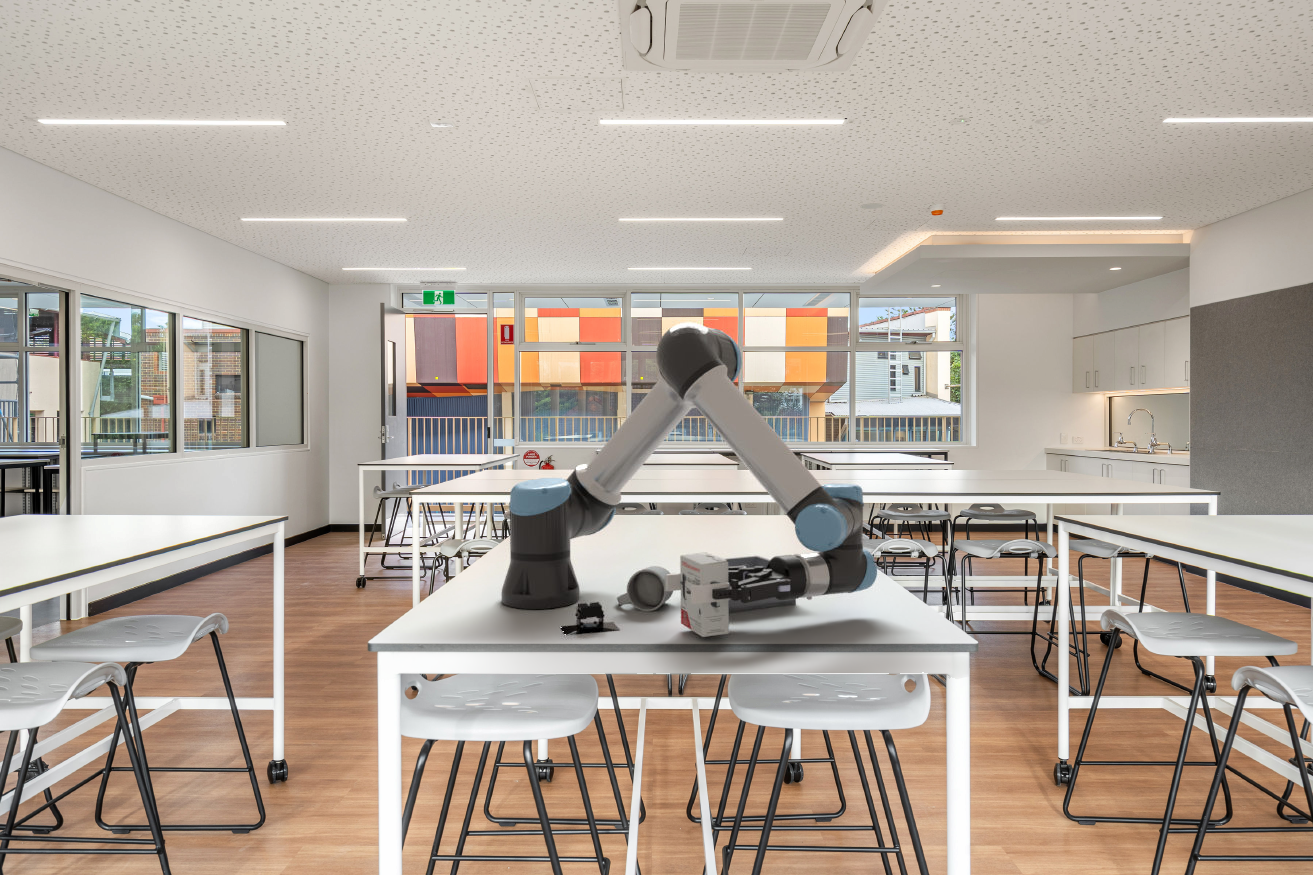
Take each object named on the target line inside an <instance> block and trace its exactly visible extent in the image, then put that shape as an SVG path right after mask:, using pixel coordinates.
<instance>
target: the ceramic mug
mask: <svg viewBox="0 0 1313 875" xmlns="http://www.w3.org/2000/svg"><path fill="white" fill-rule="evenodd" d="M666 574H672V573H671V572H670V571H669V570H668V569H666V568H665V567H662V566H660V565H658V566H657V565H652V566H648V567H646V568H642V569H640V570H638V571H636V572H635V573H634V574H632V575H631V577H630V578H629V580H628V582H627V584H626V592H625V593H623V594H621V595H619V596H617V597H616V601H617V603H618V605H619V606H621V605H625V604H627V603H629V602H630V604H632V606H633V607H634V608H636V609H637V610H639V611H642V612H652V611H653V612H654V611H656V610H657V609H659V608H661V606H662V605H664V604H665V603H666V602H667V601H669V599H670V598H671V597H672V595H673V593H674V591H666Z"/></svg>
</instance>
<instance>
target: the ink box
mask: <svg viewBox="0 0 1313 875" xmlns="http://www.w3.org/2000/svg"><path fill="white" fill-rule="evenodd" d="M679 558H680V559H679V560H680V562H679V564H680V566H679V567H680V569H679V570H680V572H679V573H680V574H681V590H680V624H681V625H683V626H684V627H686V628H688V629H689V630H690V631H692V632H693V633H696V634H697V635H699V636H700V637H701V638H705V637H711V636H712V637H714V636H718V635H719V636H720V635H727V634H729V633H730V632H729V631H730V629H729V628H730V626H729V625H730V623H729V622H730V620H729V619H730V618H729V615H730V614H729V604H728V600H727V601H718V602H710V603H701V604H691V586H696V585H706V584H715V583H725V582H728V562H727V560H726V558H723V557H720V556H718V555H717V556H716V555H715V554H712V553H708V552H704V551H703V552H697V553H696V552H695V553H690V554H689V553H688V554H683V555H680V557H679Z"/></svg>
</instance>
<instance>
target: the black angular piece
mask: <svg viewBox="0 0 1313 875" xmlns="http://www.w3.org/2000/svg"><path fill="white" fill-rule="evenodd" d="M574 616H575V620H576V621H575V622H576V623H575V624H573V625H571V624H570V625H561V627H562V628H560V627H559V628H560V630H561V632H562V631H564V632H562V634H563V635H564V634H566V636H575V635H585V634H586V635H587V634H598V633H608V632H619V631H621V629H620V628H619V626H617V625H616V623H615V622H614V621H610V622H609V621H607V622H604V621H605V620H604V619H605V613H604V610H603V607H602V604H601V603H600V602H599V601H597V602H589V604H588V603H587V602H585V603H577V608H576V610H575V613H574ZM593 618H595V619H598V620H594V621H590V622H589V621H588V622H587V621H586V622H584V621H582V620H587V619H593Z"/></svg>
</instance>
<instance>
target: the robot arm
mask: <svg viewBox="0 0 1313 875" xmlns="http://www.w3.org/2000/svg"><path fill="white" fill-rule="evenodd" d="M656 362H657V367H658V370H657V373H658V374H657V375H658V381H657V382H656V383H655V384H654V385H653V387H652V388H651V389H650V390H649V391H648V393H647V394H646V395H645V397H644V398H643V399H642V400H641V401H640V402H639V403H638V404H637V406H636V407H635V408H634V409H633V411H632V412H630V414H629V415H628V417H627V418H626V419H625V420H624V421H623V423H622V424H621V425H620V426H619V427H618V429H617V430H616V431H615V432H614V434H613V435H612V436H611V437H609V440H607V442H606V443H605V444H604V446H603V447H602V448H601V449H600V450H599V452H597V453H596V455H594V458H593V459H592V460H591V461H590V462H589V463H583V464H579V465H578V466H576V467H575V469H574V470H573V471H572V472H571V474H570V475H569V476H568V477H567V478H566V479H565V478H561V477H560V478H559V477H542V478H537V479H529V480H524V481H521V482H519V483H517V484H515V485H514V486H513V487H512V488H511V490H510V494H509V495H510V496H509V497H510V498H509V504H508V509H509V532H510V533H509V537H510V538H509V540H510V541H509V544H510V546H509V547H510V548H509V549H510V552H509V553H510V560H509V561H510V562H509V565H508V569H507V572H506V575H505V579H504V581H503V585H502V588H501V603H502V605H505V606H506V607H507V606H508V607H509V608H510V607H511V608H514V609H515V608H516V609H524V610H544V609H545V610H546V609H554V608H559V607H561V608H562V607H565V606H569V605H572V604H575V603H576V602H578V601H579V600H580V598H581V596H580V594H581V593H580V584H579V581H578V579H577V576H576V575H577V574H576V573H575V569H574V566H573V563H572V559H571V540H572V539H573V540H574V539H576V538H580V537H583V536H591V535H594V534H596V533H597V532H600V531H601V530H603V529H604V528H606V527H607V526H608V525H610V523H611V522H612V520H613V518H614V517H615V514H616V511H617V510H616V507H617V506H618V505H619V504H620V502H621V501H622V493H621V490H622V489H623V488H624V487H625V486H626V484H627V483H628V482H629V481H630V480H631V479H632V477H633V476H635V474H636V473H637V472H638V471H639V470H640V469H641V467H642V466H643V465H644V464H645V462H646V461H647V460H648V459H649V458H650V457H651V456H652V455H653V453H654V452H655V451H656V450H657V449H658V448H659V447H660V446H661V445H662V443H663V442H664V441H665V440H666V438H668V436H669V435H670V434H671V433H672V432H673V430H675V429H676V427H677V426H678V425H679V423H680V422H681V421H682V420H683V419H684V418H685V417H686V415H687V414H688V413H689V412H690V411H691V410H692V409H697V410H698V411H699V412H700V414H701V415H702V416H703V418H705V420H707V422H708V424H710V426H711V427H712V428H713V429H714V430H715V431H716V432H717V433H718V435H719V436H720V437H721V439H723V441H724V442H725V443H726V444H727V445H728V447H729V448H730V449H731V450H732V451H733V453H734V454H735V455H736V457H737V458H738V459H739V460H740V461H741V463H742V464H744V466H745V467H746V468H747V469H748V470H749V472H750V473H751V474H752V476H753V477H754V478H755V479H756V480H757V482H758V483H759V484H760V485H761V486H762V488H764V490H765V491H766V492H767V493H768V495H769V496H770V497H771V498H772V499H773V501H775V503H776V504H777V505H778V506H779V508H780V509H781V510H782V511H783V513H784V514H786V516H787V517H788V518H789V520H790V521H791V523H793V525H794V531H795V535H796V538H797V539H798V542H800V544H801V545H802V546H803V547H804V548H806V549H808V550H811V551H813V552H804V553H794V554H786V555H785V554H784V555H776V556H773V557H772V558H771V559H770V561H769V563H768V565H767V567H766V568H765V569H764V567H763V566H754V567H753V568H750V566H749V565H742V566H731V567H728V582H725V583H715V584H706V585H696V586H691V604H701V603H710V602H718V601H727V600H730V598H731V600H734V601H738V600H741V602H742V603H748V602H753V601H758V600H763V599H768V598H773V597H775V598H776V599H778V600H790V599H796V600H797V599H800V598H805V599H807V600H808V601H809V600H810V601H811V600H812V599H813V597H820V596H825V595H827V596H828V595H837V594H851V593H855V592H860V591H861V592H862V591H864V590H868V589H869V588H870V587H872V586H873V585H874V584H875V582H876V579H877V575H878V566H877V565H876V562H875V561H876V560H875V557H874V556H873V554H872V553H871V552H870V551H868V550H867V549H865V548H864V546H863V534H864V532H863V530H864V529H863V524H864V523H863V522H864V507H865V503H864V496H863V495H864V493H863V488H862V487H861V486H860V485H857V484H853V483H826V484H823V485H822V484H821V483H820V482H819V481H818V480H817V479H816V478H815V476H814V475H813V474H812V472H811V471H810V470H808V468H807V467H806V465H804V464H803V462H802V461H801V460H800V458H798V457H797V455H796V454H795V453H794V452H793V451H792V450H791V449H790V447H789V446H788V445H787V444H786V442H784V440H783V439H782V438H781V437H780V436H779V435H778V433H777V432H776V431H775V430H774V429H773V428H772V427H771V425H770V424H769V423H768V422H767V421H766V420H765V418H764V417H763V416H762V415H761V413H759V412H758V410H757V409H756V407H755V406H753V404H752V403H751V402H750V401H749V399H747V397H745V395H744V394H743V392H741V391H740V390H739V388H738V387H737V386H736V385H735V384H734V382H735V381H736V380H737V379H738V376H739V374H740V372H741V369H742V364H743V363H742V362H743V361H742V352H741V350H740V347H739V345H738V343H737V342H736V341H735V339H734V338H732V337H731V336H730V335H728V334H727V333H725V332H724V331H722V330H720V329H717V328H713V327H707V326H704V325H702V324H699V323H695V322H683V323H679V324H675V325H674V326H672V327H670V328H669V329H668V330H667V331H666V332H665V333H664V334H663V335H662V337H661V338H660V340H659V342H658V345H657V348H656ZM730 586H731V587H730ZM666 591H673V592H676V591H681V574H680V572H677V573H671V574H666ZM749 596H750V597H749Z"/></svg>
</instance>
